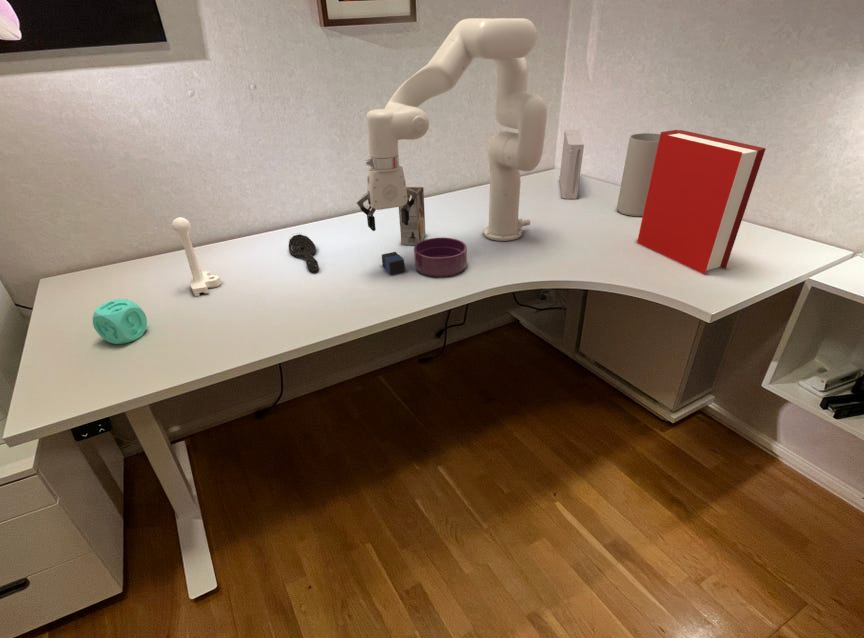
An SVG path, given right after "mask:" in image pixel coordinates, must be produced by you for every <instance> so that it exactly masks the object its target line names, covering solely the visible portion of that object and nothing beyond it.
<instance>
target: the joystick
mask: <svg viewBox="0 0 864 638" xmlns="http://www.w3.org/2000/svg"><path fill="white" fill-rule="evenodd" d="M171 229H172V230H173V231H174V233H176V234H177V235H178V236H179V238H180V240H181V242H182V245H183V249H184V252H185V256H186V259H187V262H188V265H189V269H190V273H191V275H192V278H191V279H190V287H191V290H192V294H193V295H194V297H200V296H201V295H200V294H201V293H203V294H208V293H209V289H210V288H211V289H213V288H218V287H219V286H220V285H221V283H222V281H221V278H220V276H219V275H217V274H211V272H210V270H204V271H202V269H201V266H200V264H199V260H198V258H197V255H196V251H195V249H194V247H193V244H192V241H191V238H190V235H189V234H190V232H191V229H192V226H191V223H190V221H189V220H188V219H187V218H185V217H181V216H180V217H176V218H174V219H173V220H172V223H171Z"/></svg>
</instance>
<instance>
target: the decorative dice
mask: <svg viewBox="0 0 864 638" xmlns="http://www.w3.org/2000/svg"><path fill="white" fill-rule="evenodd" d="M92 326H93V328H94V330H95V332H96V333H97V334H98V335H99V337H101V339H103V340H104V341H106V342H108V343H110V344H114V345H125V344H129V343H131V342H134V341H136V340H138V339H140V338H141V337H142V336H143V334H144V333H145V332H146V329H147V326H148V319H147V315H146V313H145V311H144V310H143V308H142V307H141V306H140V305H139V304H138V303H137V302H135V301H133V300H131V299H127V298H116V299H112V300H109V301H106V302H103V303H101V304H100V305H98V306H97V307H96V309H95V310H94V312H93V315H92Z"/></svg>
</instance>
